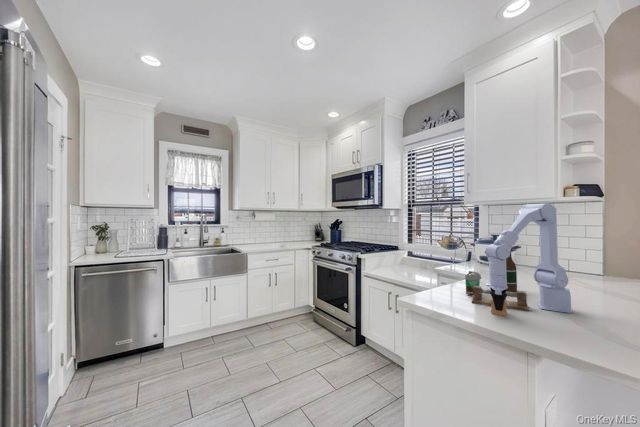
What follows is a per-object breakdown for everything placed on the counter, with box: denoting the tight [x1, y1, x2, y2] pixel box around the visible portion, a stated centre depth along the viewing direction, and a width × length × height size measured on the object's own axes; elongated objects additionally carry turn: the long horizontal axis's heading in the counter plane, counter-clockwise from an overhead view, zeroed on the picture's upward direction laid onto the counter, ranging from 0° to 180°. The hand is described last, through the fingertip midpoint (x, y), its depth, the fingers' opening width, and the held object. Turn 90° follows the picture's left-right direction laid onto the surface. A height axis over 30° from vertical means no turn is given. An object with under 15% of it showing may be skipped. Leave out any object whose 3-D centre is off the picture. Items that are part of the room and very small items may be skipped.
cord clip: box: [490, 296, 508, 317], centre depth 103 cm, size 5×5×6 cm
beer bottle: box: [506, 250, 518, 293], centre depth 133 cm, size 8×8×24 cm
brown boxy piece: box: [471, 285, 530, 312], centre depth 113 cm, size 20×8×6 cm, turn 55°
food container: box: [464, 270, 482, 296], centre depth 129 cm, size 12×6×10 cm, turn 143°
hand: (498, 308), depth 103 cm, fingers closed on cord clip, 5 cm apart
